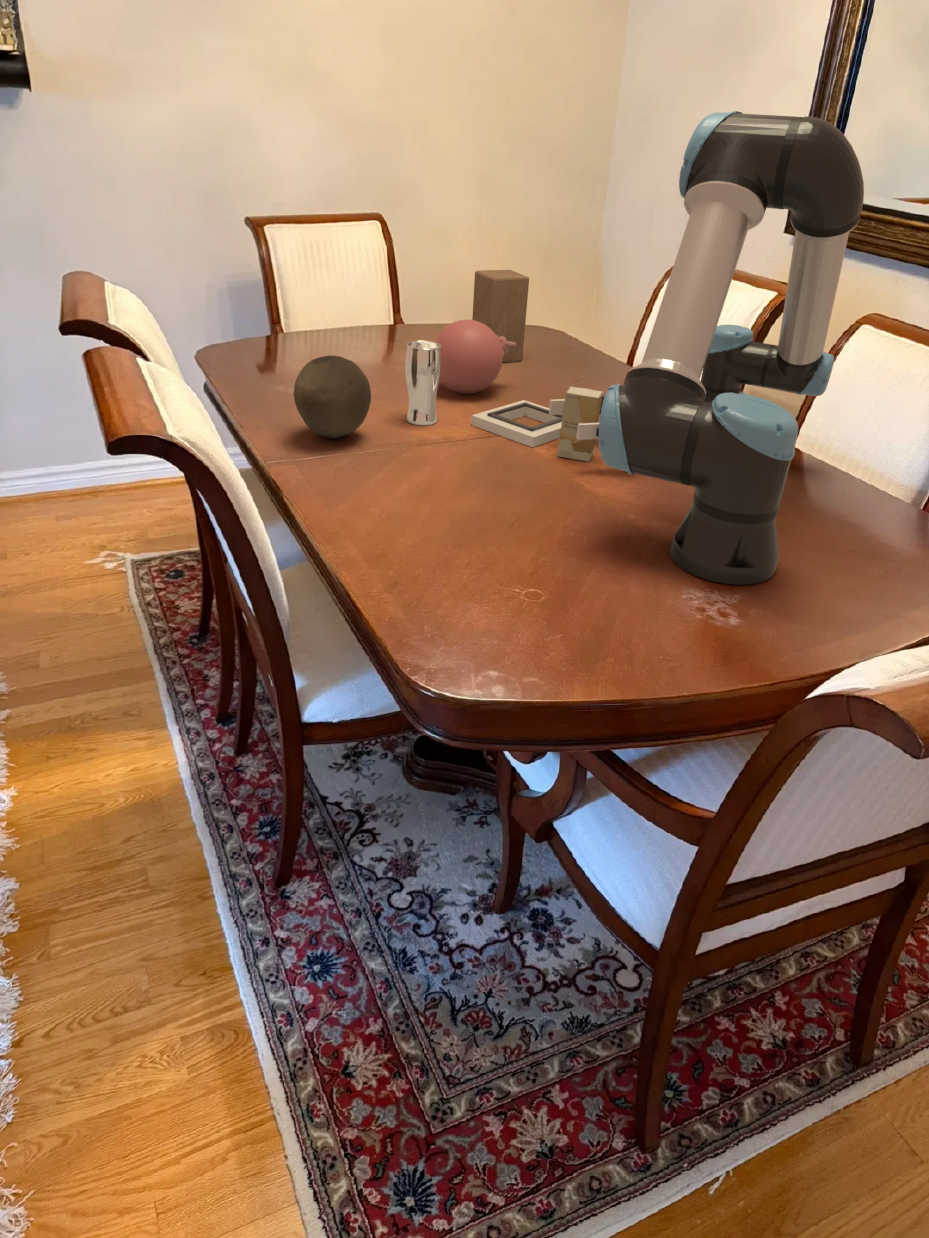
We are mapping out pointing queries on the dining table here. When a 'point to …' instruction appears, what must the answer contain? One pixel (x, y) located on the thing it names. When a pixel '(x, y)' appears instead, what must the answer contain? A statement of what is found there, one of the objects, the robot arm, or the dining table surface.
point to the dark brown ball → (332, 396)
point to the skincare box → (578, 422)
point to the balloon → (470, 356)
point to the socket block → (504, 425)
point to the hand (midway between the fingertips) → (563, 419)
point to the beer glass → (422, 380)
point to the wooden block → (502, 306)
